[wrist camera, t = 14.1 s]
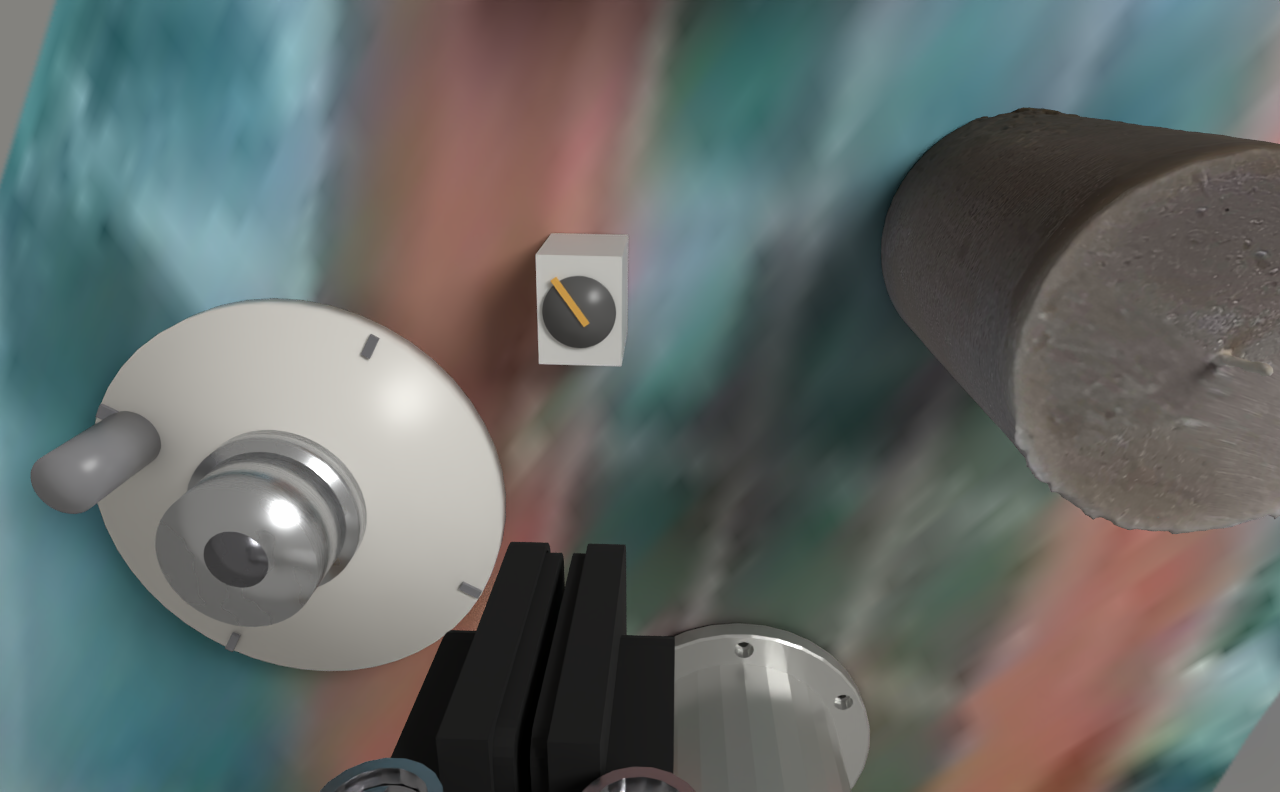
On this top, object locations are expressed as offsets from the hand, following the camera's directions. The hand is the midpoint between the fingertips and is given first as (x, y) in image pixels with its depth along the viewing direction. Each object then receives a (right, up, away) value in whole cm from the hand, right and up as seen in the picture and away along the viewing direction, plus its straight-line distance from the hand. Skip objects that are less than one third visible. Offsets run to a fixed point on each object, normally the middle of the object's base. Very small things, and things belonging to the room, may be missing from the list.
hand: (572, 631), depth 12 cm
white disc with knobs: (-13, 0, +25) cm, 28 cm away
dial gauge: (-1, +8, +21) cm, 23 cm away
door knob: (-14, -1, +23) cm, 27 cm away
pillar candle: (+15, +9, +20) cm, 27 cm away
